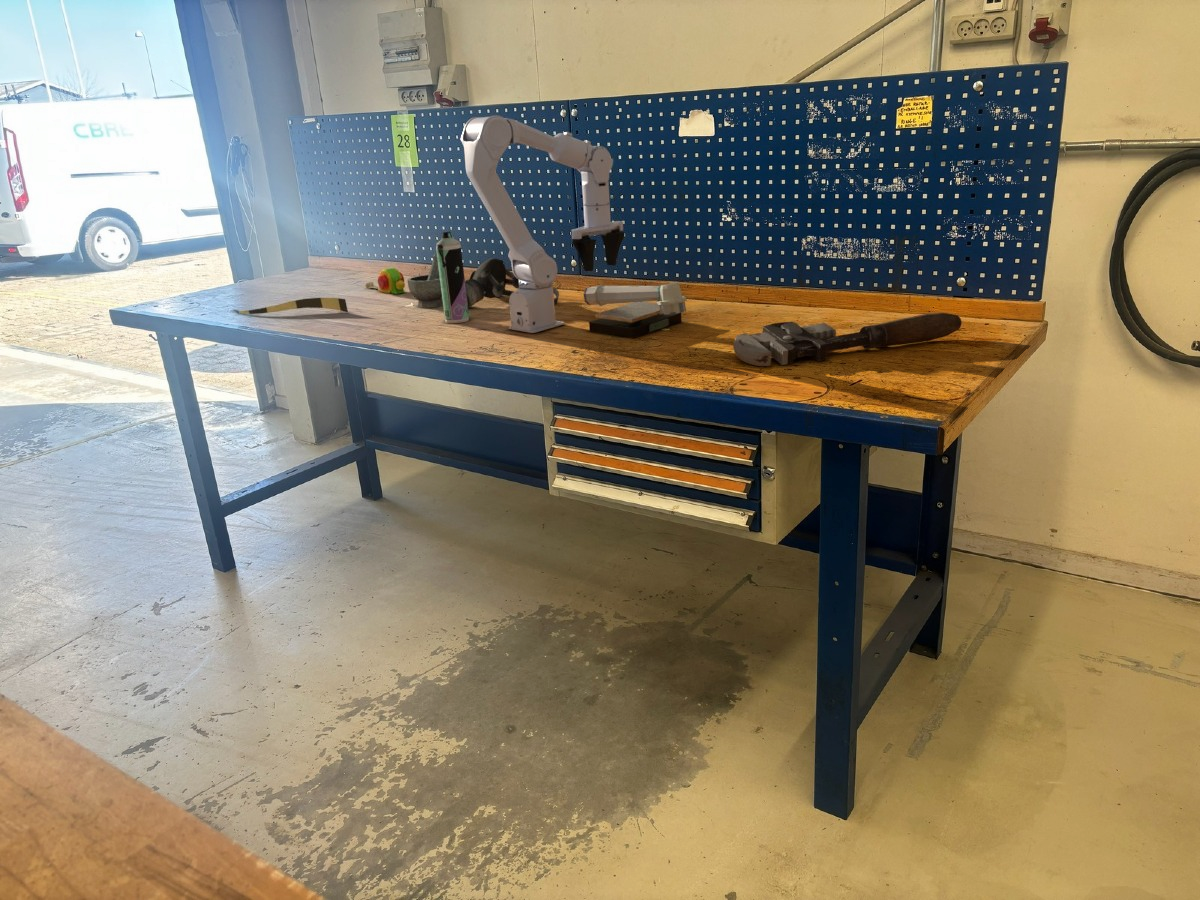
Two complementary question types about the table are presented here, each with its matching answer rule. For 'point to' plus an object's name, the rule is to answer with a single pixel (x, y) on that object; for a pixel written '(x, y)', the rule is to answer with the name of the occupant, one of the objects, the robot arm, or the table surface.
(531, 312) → the robot arm
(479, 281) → the respirator mask
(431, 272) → the mortar and pestle
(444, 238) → the spray can
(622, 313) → the pan
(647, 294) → the pale grey handled tool
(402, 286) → the toy measuring tape
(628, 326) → the scale
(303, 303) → the tape
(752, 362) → the pipe wrench
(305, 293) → the table surface
